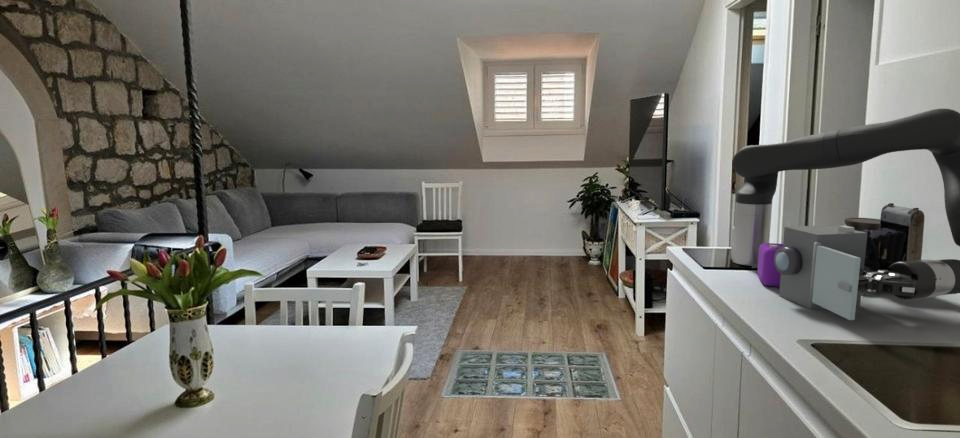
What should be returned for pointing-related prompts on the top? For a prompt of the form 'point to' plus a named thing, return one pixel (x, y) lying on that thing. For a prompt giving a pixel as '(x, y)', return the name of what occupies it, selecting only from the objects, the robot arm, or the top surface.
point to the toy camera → (768, 264)
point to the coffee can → (863, 223)
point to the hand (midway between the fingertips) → (846, 285)
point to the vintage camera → (894, 238)
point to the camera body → (799, 257)
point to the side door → (834, 281)
